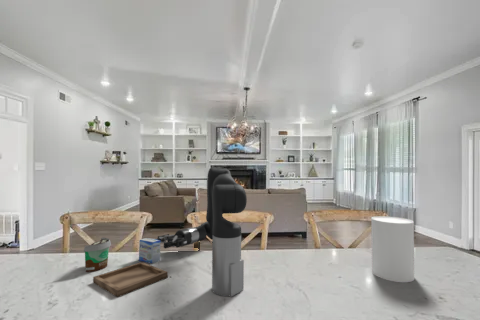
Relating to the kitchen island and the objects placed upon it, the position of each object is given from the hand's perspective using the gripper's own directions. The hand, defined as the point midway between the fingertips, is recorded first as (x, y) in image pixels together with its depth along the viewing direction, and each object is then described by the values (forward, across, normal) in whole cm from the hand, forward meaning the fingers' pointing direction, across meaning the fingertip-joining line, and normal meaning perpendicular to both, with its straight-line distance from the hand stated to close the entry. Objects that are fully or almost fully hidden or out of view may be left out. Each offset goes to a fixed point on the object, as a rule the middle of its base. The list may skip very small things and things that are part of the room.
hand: (158, 244), depth 113 cm
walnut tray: (+19, +12, +6) cm, 23 cm away
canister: (-43, +82, +6) cm, 93 cm away
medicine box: (+4, 0, +6) cm, 7 cm away
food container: (+20, -8, +6) cm, 22 cm away
